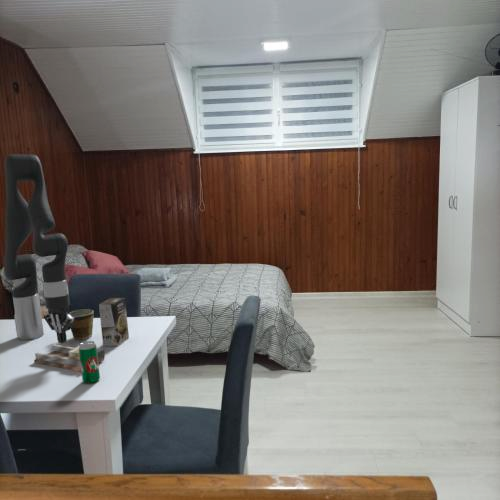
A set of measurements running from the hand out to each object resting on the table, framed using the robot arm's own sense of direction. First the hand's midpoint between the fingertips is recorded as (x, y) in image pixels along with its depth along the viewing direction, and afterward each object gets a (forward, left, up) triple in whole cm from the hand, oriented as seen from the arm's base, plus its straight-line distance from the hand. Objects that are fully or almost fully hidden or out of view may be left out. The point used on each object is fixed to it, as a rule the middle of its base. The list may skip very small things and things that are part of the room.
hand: (62, 342), depth 153 cm
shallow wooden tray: (+2, 0, -7) cm, 7 cm away
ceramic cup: (-13, +19, -7) cm, 24 cm away
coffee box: (+5, +20, -7) cm, 22 cm away
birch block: (+9, 0, -5) cm, 11 cm away
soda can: (+21, -9, -7) cm, 24 cm away
